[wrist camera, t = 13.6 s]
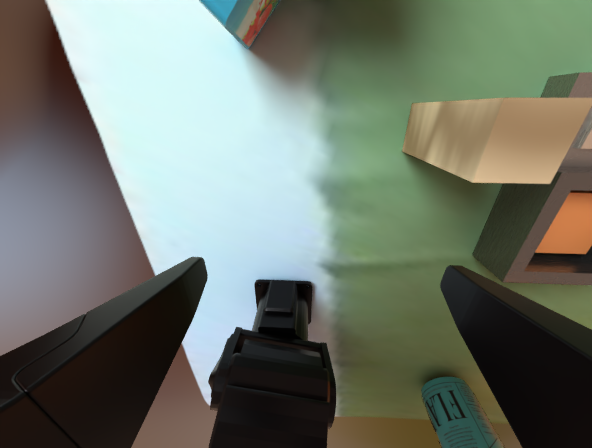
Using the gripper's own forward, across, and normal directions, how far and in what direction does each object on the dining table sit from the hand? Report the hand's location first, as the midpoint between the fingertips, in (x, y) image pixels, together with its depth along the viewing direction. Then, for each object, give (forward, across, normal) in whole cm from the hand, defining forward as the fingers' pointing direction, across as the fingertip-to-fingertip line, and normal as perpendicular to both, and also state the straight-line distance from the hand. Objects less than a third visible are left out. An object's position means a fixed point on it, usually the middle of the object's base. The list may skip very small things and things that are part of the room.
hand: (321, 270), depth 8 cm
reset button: (+12, -21, +3) cm, 25 cm away
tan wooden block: (+13, -9, -4) cm, 16 cm away
